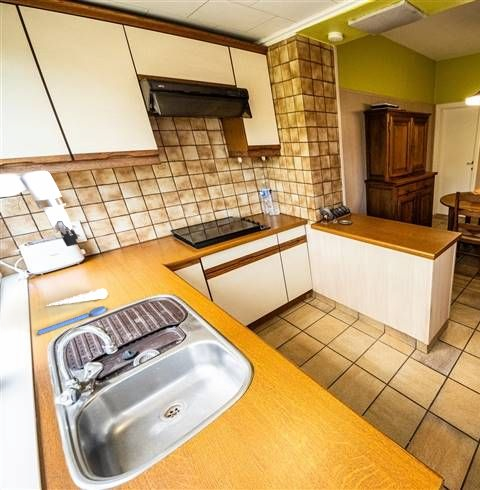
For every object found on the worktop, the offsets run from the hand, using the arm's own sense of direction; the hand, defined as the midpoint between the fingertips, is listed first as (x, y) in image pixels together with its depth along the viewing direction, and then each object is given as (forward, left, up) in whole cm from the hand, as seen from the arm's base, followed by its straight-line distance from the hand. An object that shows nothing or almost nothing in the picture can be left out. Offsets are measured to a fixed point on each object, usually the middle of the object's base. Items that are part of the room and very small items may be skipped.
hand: (72, 242), depth 112 cm
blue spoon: (-10, -13, -29) cm, 33 cm away
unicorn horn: (-8, +7, -29) cm, 31 cm away
